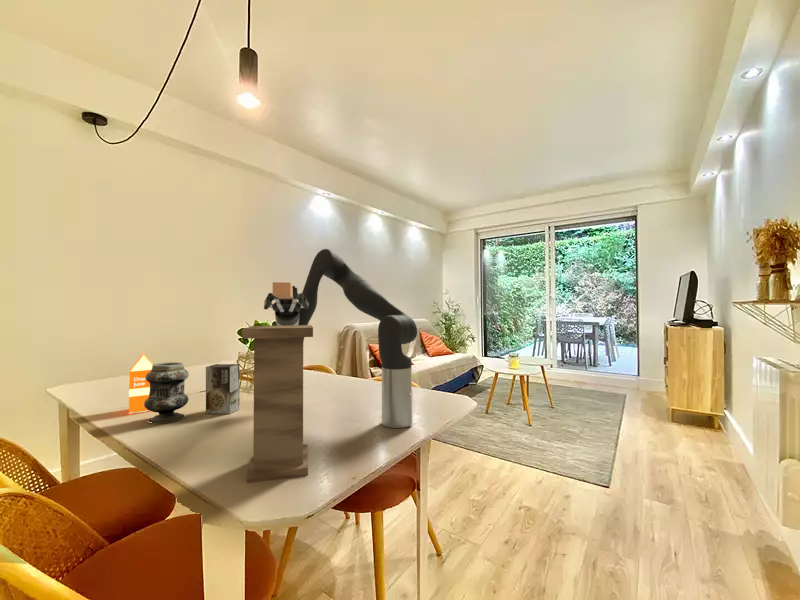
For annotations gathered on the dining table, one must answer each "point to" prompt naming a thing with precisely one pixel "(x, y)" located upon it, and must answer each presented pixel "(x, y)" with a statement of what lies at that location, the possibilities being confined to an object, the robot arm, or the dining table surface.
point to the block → (282, 290)
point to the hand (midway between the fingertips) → (285, 288)
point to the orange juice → (139, 384)
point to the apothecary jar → (166, 391)
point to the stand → (278, 402)
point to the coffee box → (222, 388)
